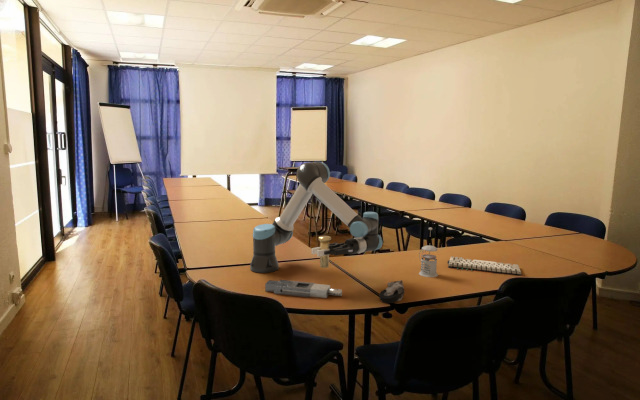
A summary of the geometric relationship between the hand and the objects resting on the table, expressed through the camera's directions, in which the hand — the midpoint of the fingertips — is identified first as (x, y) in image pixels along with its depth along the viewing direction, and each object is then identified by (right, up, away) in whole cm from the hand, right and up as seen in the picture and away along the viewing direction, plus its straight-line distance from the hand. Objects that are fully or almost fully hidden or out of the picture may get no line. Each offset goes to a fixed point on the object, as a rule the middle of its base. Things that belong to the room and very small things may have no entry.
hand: (314, 252), depth 188 cm
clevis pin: (+4, -7, +4) cm, 9 cm away
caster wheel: (+34, -20, -9) cm, 40 cm away
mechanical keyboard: (+92, -14, +40) cm, 101 cm away
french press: (+59, -15, +28) cm, 67 cm away
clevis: (-6, -18, -1) cm, 19 cm away
